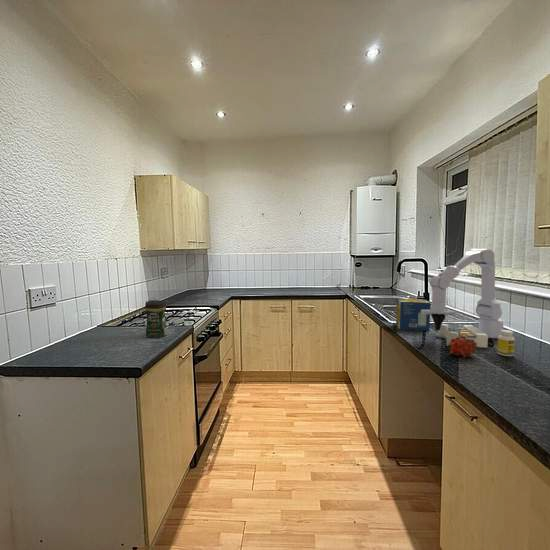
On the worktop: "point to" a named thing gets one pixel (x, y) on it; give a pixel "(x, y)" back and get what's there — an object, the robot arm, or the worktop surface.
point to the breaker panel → (475, 335)
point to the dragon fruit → (462, 346)
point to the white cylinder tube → (443, 331)
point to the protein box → (412, 314)
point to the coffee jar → (155, 319)
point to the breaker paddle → (464, 333)
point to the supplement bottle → (506, 343)
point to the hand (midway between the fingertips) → (437, 329)
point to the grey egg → (451, 336)
